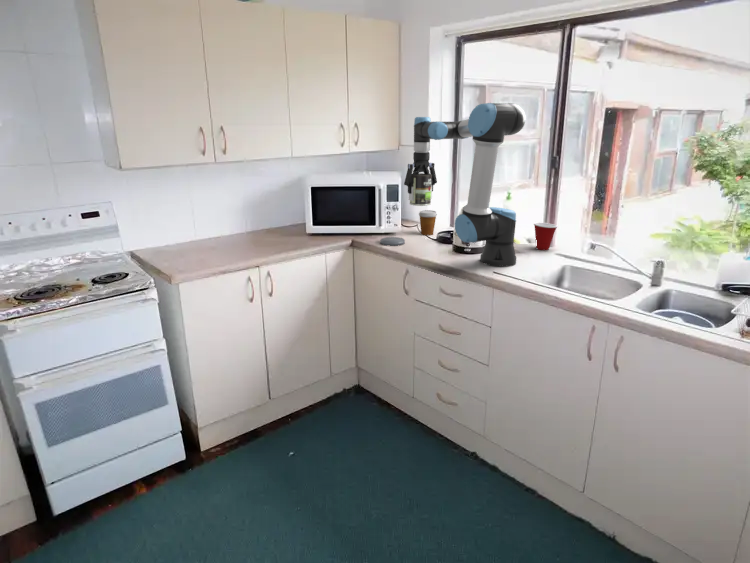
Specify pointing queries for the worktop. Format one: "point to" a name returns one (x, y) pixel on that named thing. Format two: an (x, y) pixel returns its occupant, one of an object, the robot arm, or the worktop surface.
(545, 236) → the plastic cup
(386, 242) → the coaster
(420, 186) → the coffee can
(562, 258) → the worktop surface
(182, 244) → the worktop surface
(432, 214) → the disposable coffee cup
